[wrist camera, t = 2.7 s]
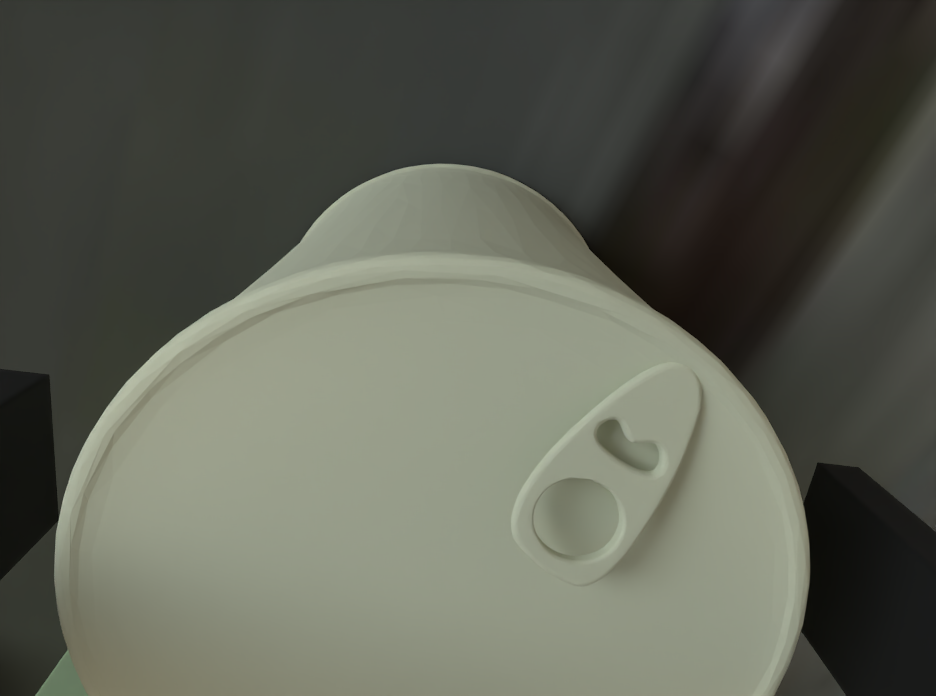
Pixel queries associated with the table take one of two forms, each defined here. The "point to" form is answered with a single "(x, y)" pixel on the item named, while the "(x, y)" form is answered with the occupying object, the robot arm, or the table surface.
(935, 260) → the table surface
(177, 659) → the can
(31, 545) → the robot arm
